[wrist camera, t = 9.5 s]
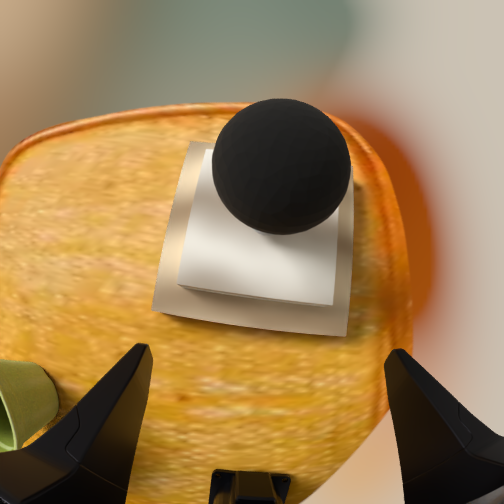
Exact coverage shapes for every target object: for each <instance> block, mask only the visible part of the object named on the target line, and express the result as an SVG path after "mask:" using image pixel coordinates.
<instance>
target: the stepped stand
mask: <svg viewBox="0 0 504 504" xmlns="http://www.w3.org/2000/svg"><path fill="white" fill-rule="evenodd" d="M215 144H216V143H206V142H194V141H190V144H189V147H188V150H187V154H186V157H185V161H184V164H183V168H182V171H181V175H180V178H179V182H178V186H177V190H176V193H175V197H174V201H173V205H172V209H171V213H170V218H169V222H168V226H167V231H166V235H165V240H164V244H163V249H162V254H161V259H160V264H159V269H158V274H157V280H156V285H155V291H154V297H153V303H152V309H151V310H152V311H157V312H162V313H167V314H172V315H177V316H182V317H188V318H194V319H199V320H205V321H212V322H218V323H224V324H231V325H238V326H245V327H253V328H260V329H269V330H277V331H286V332H296V333H306V334H318V335H330V336H345V337H346V333H347V324H348V314H349V304H350V292H351V278H352V260H353V230H354V189H353V166H351V174H350V180H349V186H348V189H347V192H346V194H345V196H344V198H343V200H342V202H341V203H340V205H339V206H338V208H337V209H336V210H335V212H334V213H333V214H332V215H331V216H330V217H329V218H328V219H326V220H325V221H324V222H322V223H321V224H319V225H317V226H315V227H313V228H311V229H309V230H307V231H305V232H300V233H296V234H292V235H270V236H267V235H262V234H259V233H257V232H256V231H254V230H253V229H252V228H251V227H248V226H247V225H245V224H244V223H242V222H240V221H239V220H238V219H237V218H235V217H234V216H233V215H232V214H231V213H230V212H229V211H228V209H227V208H226V207H225V205H224V204H223V203H222V201H221V199H220V197H219V196H218V193H217V191H216V188H215V185H214V182H213V177H212V154H213V150H214V147H215Z"/></svg>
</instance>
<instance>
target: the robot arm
mask: <svg viewBox="0 0 504 504" xmlns="http://www.w3.org/2000/svg"><path fill="white" fill-rule="evenodd" d="M152 366H153V357H152V354H151V351H150V347H149V345H148V344H144V343H137V344H135V345H134V346H133V347H132V348H131V349H130V350H129V351H128V352H127V353H126V354H125V355H124V356H123V357H122V358H121V359H120V360H119V361H118V362H117V363H116V364H115V365H114V366H113V367H112V368H111V369H110V370H109V371H108V372H107V373H106V374H105V375H104V376H103V377H102V378H101V379H100V380H99V381H98V382H97V384H96V385H95V386H94V387H93V388H92V389H91V390H90V391H89V392H88V393H87V394H86V395H85V396H84V397H83V398H82V399H81V400H80V401H79V402H78V403H77V405H75V406H74V407H73V408H72V409H71V410H70V411H69V412H68V413H67V414H66V415H65V416H64V417H63V418H62V419H61V420H60V421H59V422H57V423H56V424H55V425H54V426H53V427H52V428H50V429H49V430H48V431H47V432H45V433H44V434H43V435H42V436H40V437H39V438H38V439H37V440H35V441H34V442H33V443H31V444H30V445H28V446H27V447H24V448H22V449H18V450H12V451H6V452H0V504H125V502H126V496H127V490H128V484H129V479H130V474H131V469H132V464H133V460H134V455H135V450H136V446H137V442H138V437H139V433H140V429H141V425H142V420H143V416H144V412H145V408H146V405H147V400H148V394H149V386H150V379H151V372H152ZM384 371H385V378H386V386H387V395H388V401H389V406H390V411H391V415H392V420H393V425H394V430H395V436H396V441H397V447H398V453H399V459H400V466H401V474H402V481H403V491H404V501H405V504H504V437H502V436H500V435H498V434H496V433H494V432H493V431H492V430H491V429H490V428H488V427H487V426H486V425H485V424H483V423H482V422H481V421H480V420H478V419H477V418H476V417H475V416H474V415H473V414H471V413H470V412H469V411H468V410H467V409H466V408H465V407H464V406H463V405H462V404H461V403H460V402H458V400H457V399H456V398H455V397H454V396H452V394H450V393H449V392H448V391H447V390H446V389H445V388H444V387H443V386H442V385H441V384H440V383H439V382H438V381H437V380H436V379H435V378H434V377H433V376H432V375H431V374H429V373H428V372H427V371H426V370H425V369H424V368H423V367H422V366H421V365H420V364H419V363H418V362H417V361H416V360H415V359H413V358H412V357H411V356H410V355H409V354H408V353H407V352H406V351H405V350H404V349H402V348H399V349H393V350H392V351H391V353H390V354H389V356H388V357H387V359H386V361H385V363H384ZM216 474H220V476H217V475H216ZM285 478H286V480H284V481H283V480H282V479H285ZM290 481H291V479H290V476H289V475H287V474H269V473H262V472H247V471H229V470H221V469H216V470H214V471H213V472H212V479H211V487H210V495H209V503H208V504H284V503H285V500H286V496H287V493H288V489H289V485H290Z"/></svg>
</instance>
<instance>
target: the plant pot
mask: <svg viewBox="0 0 504 504" xmlns="http://www.w3.org/2000/svg"><path fill="white" fill-rule="evenodd" d="M58 408H59V400H58V395H57V391H56V389H55V386H54V384H53V382H52V381H51V380H50V379H49V377H48V376H47V375H46V374H45V372H44V370H43V368H41V367H40V366H39V365H37V364H35V363H33V362H24V361H12V360H3V359H0V452H6V451H12V450H18V449H21V447H22V446H23V443H24V442H25V441H26V440H28V439H29V438H30V437H31V436H33V435H34V434H35V433H36V432H38V431H39V430H40V429H41V428H43V427H44V426H45V425H47V424H48V423H49V422H50V421H52V420H53V419H54V418H55V416H56V414H57V412H58Z"/></svg>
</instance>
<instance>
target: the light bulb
mask: <svg viewBox="0 0 504 504" xmlns="http://www.w3.org/2000/svg"><path fill="white" fill-rule="evenodd" d="M350 174H351V161H350V155H349V151H348V148H347V144H346V141H345V139H344V137H343V135H342V134H341V132H340V131H339V129H338V127H337V126H336V125H335V124H334V123H333V122H332V121H331V119H330V118H329V117H328V116H326V115H325V114H324V113H323V112H321V111H320V110H318V109H317V108H315V107H313V106H311V105H309V104H306V103H304V102H300V101H297V100H292V99H269V100H265V101H260V102H257V103H254V104H252V105H249V106H248V107H246V108H244V109H243V110H241V111H239V112H238V113H237V114H236V115H235V116H234V117H233V118H232V119H231V120H230V121H229V122H228V123H227V124H226V125H225V126H224V128H223V129H222V131H221V132H220V134H219V136H218V138H217V141H216V144H215V147H214V150H213V154H212V177H213V182H214V185H215V188H216V191H217V193H218V196H219V197H220V199H221V201H222V203H223V204H224V205H225V207H226V208H227V209H228V211H229V212H230V213H231V214H232V215H233V216H234V217H235V218H237V219H238V220H239V221H240V222H242V223H244V224H245V225H247V226H248V227H251V228H252V229H253V230H254V231H256V232H257V233H259V234H262V235H267V236H270V235H292V234H296V233H300V232H305V231H307V230H309V229H311V228H313V227H315V226H317V225H319V224H321V223H322V222H324V221H325V220H326V219H328V218H329V217H330V216H331V215H332V214H333V213H334V212H335V210H336V209H337V208H338V206H339V205H340V203H341V202H342V200H343V198H344V196H345V194H346V192H347V189H348V186H349V180H350Z"/></svg>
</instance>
